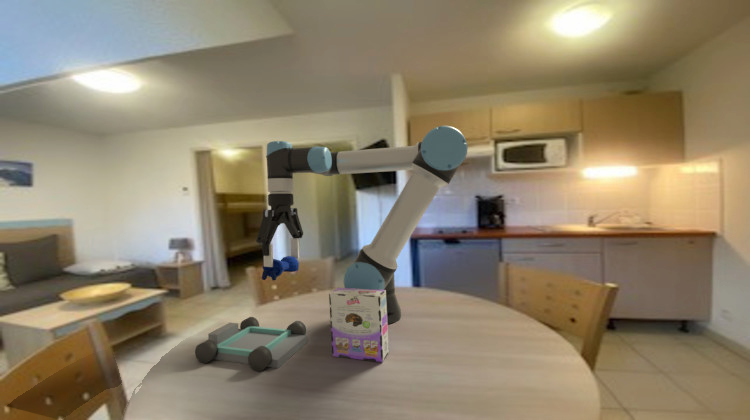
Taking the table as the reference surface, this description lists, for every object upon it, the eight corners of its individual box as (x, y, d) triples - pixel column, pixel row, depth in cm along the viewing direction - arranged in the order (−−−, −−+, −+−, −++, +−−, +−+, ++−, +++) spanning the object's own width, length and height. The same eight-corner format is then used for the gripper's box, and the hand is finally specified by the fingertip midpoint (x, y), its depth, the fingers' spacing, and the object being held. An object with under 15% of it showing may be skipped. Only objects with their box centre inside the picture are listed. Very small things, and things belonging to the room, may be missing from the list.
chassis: (311, 339, 93) (310, 321, 93) (271, 373, 75) (270, 352, 75) (241, 331, 100) (241, 315, 100) (190, 361, 83) (189, 342, 82)
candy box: (389, 352, 84) (387, 289, 83) (382, 363, 78) (380, 295, 77) (340, 346, 88) (338, 286, 87) (331, 356, 82) (328, 292, 82)
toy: (279, 282, 92) (303, 269, 107) (278, 261, 92) (302, 250, 106) (258, 281, 94) (285, 268, 108) (257, 260, 93) (284, 249, 108)
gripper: (293, 193, 112) (295, 254, 113) (241, 193, 89) (243, 270, 90) (312, 192, 110) (314, 255, 111) (263, 192, 87) (265, 271, 87)
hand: (282, 262), depth 100 cm, fingers closed on toy, 13 cm apart
